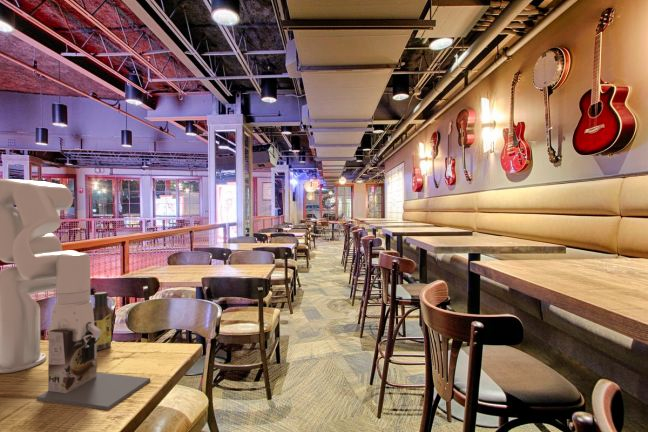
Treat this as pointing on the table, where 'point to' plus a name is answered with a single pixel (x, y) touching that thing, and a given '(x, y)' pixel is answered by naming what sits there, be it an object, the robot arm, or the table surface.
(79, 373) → the coffee box
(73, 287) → the robot arm
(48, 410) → the table surface
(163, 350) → the table surface
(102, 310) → the sauce bottle
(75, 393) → the rubber mat
